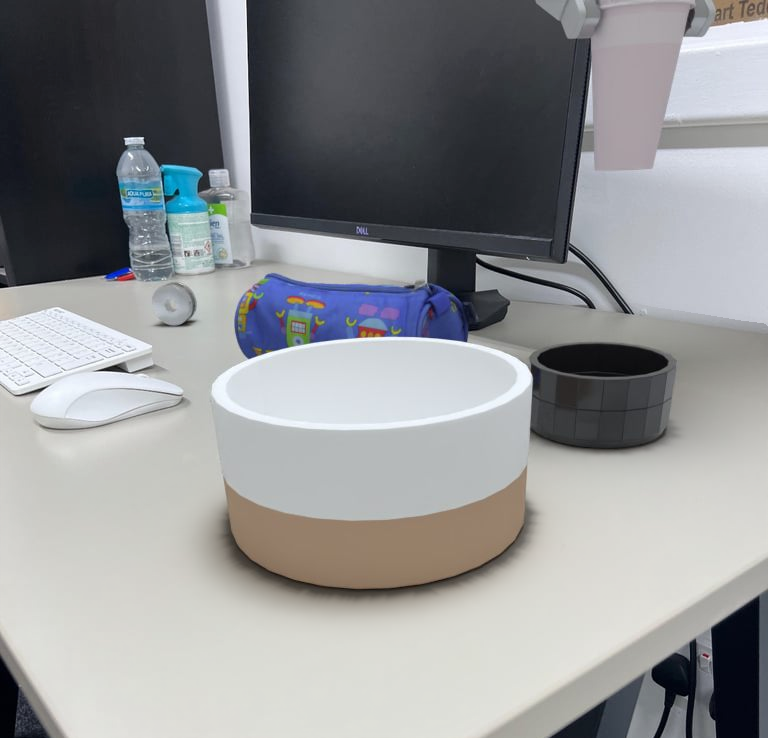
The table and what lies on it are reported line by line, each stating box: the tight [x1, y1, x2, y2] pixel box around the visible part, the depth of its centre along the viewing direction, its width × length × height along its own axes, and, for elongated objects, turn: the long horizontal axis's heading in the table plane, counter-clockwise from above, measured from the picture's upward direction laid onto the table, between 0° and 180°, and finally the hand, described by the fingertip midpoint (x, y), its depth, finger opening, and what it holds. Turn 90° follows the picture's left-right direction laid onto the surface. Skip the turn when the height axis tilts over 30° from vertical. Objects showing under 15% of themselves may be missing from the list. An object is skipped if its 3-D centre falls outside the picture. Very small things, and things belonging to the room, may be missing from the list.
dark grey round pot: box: [527, 341, 678, 449], centre depth 53 cm, size 10×10×5 cm
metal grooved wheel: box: [151, 281, 198, 327], centre depth 92 cm, size 5×3×5 cm, turn 82°
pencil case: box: [233, 272, 480, 360], centre depth 65 cm, size 22×9×10 cm, turn 57°
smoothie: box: [590, 0, 696, 172], centre depth 45 cm, size 6×6×14 cm
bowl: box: [209, 337, 533, 590], centre depth 41 cm, size 17×17×8 cm
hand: (644, 27), depth 44 cm, fingers closed on smoothie, 6 cm apart
